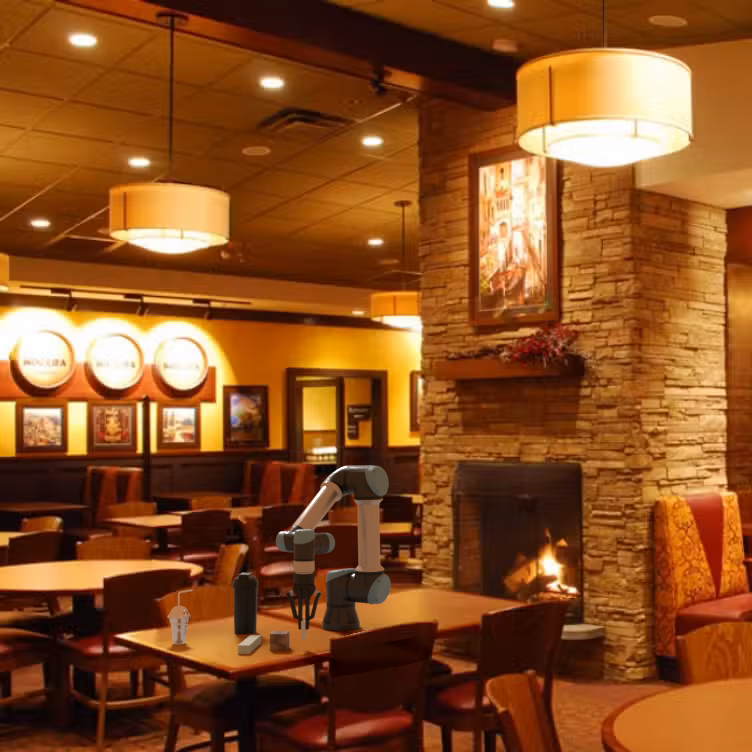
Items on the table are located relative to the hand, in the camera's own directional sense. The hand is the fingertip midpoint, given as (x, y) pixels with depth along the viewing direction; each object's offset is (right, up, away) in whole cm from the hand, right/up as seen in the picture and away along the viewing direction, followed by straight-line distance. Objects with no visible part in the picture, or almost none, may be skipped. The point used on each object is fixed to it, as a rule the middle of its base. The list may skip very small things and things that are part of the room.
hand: (303, 638), depth 402 cm
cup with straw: (-47, -5, +13) cm, 49 cm away
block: (-9, -4, +1) cm, 10 cm away
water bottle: (-25, -6, +35) cm, 43 cm away
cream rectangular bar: (-20, -4, +2) cm, 20 cm away
